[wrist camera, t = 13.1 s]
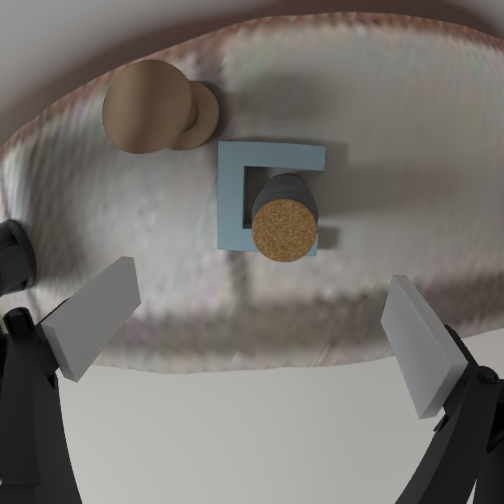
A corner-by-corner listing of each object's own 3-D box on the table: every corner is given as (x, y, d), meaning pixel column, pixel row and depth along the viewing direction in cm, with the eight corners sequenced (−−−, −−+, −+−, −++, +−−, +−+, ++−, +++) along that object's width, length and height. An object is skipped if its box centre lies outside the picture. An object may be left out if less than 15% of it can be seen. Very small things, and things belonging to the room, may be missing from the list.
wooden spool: (152, 151, 34) (102, 157, 23) (154, 86, 31) (105, 69, 20) (218, 149, 33) (187, 151, 22) (221, 80, 30) (191, 53, 19)
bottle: (317, 206, 34) (338, 247, 20) (276, 228, 36) (268, 282, 22) (294, 164, 33) (300, 175, 19) (252, 188, 34) (228, 216, 20)
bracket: (221, 242, 37) (217, 249, 35) (223, 141, 33) (218, 141, 30) (314, 249, 36) (316, 256, 34) (323, 146, 31) (325, 146, 29)
